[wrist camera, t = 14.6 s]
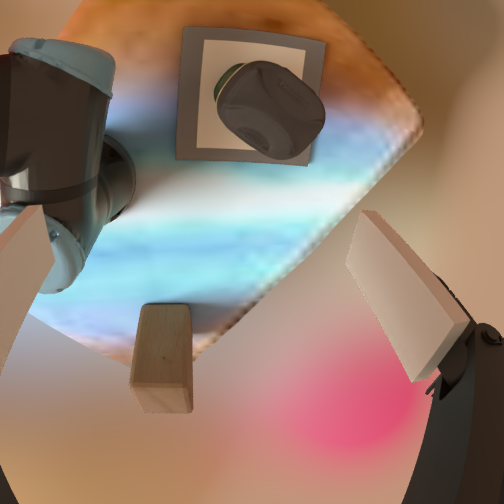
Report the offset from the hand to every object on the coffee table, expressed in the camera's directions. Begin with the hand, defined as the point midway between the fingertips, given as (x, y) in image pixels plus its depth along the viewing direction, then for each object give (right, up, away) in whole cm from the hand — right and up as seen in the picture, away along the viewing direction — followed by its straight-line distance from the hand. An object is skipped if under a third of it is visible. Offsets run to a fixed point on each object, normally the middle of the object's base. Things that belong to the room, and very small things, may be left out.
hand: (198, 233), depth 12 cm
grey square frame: (+2, +22, +28) cm, 35 cm away
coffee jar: (+2, +21, +27) cm, 34 cm away
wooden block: (-16, -15, +50) cm, 54 cm away
